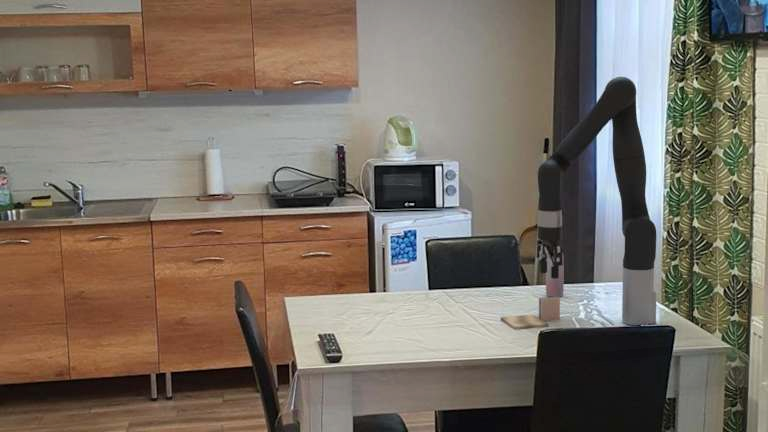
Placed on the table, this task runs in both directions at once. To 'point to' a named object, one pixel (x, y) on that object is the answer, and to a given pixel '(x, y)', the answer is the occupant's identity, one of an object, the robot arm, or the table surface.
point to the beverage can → (554, 281)
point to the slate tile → (549, 308)
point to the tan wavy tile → (524, 321)
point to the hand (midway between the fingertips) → (548, 275)
